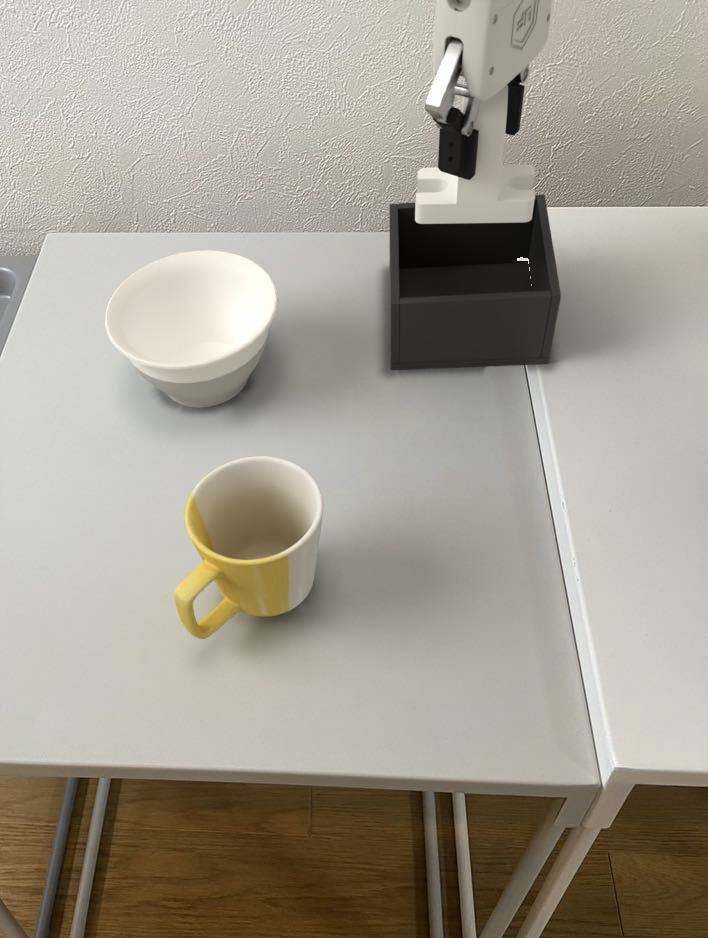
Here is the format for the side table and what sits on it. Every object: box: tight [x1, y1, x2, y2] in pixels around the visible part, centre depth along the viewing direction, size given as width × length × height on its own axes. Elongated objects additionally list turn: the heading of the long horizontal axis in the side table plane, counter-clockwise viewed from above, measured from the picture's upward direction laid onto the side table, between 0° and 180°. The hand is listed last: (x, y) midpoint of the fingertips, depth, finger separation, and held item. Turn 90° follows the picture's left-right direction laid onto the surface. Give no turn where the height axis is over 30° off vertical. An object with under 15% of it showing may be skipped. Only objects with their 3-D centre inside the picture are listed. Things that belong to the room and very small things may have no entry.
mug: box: [173, 455, 324, 640], centre depth 72 cm, size 14×10×10 cm
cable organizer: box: [414, 85, 536, 224], centre depth 77 cm, size 5×10×10 cm, turn 82°
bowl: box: [104, 249, 279, 408], centre depth 88 cm, size 16×16×8 cm
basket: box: [388, 194, 562, 370], centre depth 89 cm, size 15×15×8 cm
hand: (478, 149), depth 77 cm, fingers closed on cable organizer, 6 cm apart
